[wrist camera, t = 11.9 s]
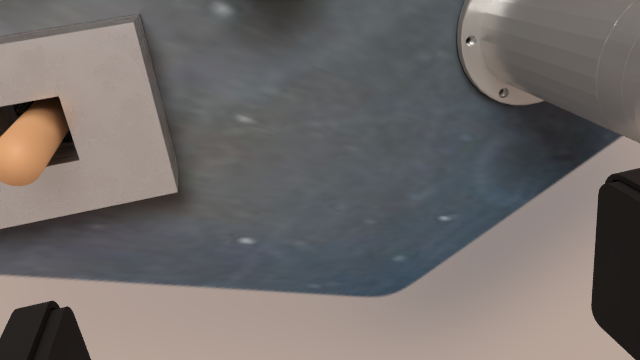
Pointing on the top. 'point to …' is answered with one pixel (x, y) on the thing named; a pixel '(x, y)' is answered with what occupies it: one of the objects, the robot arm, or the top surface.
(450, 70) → the top surface
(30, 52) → the hole block
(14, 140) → the peg
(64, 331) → the robot arm
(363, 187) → the top surface
